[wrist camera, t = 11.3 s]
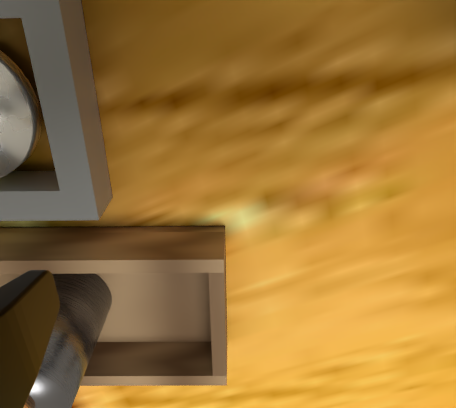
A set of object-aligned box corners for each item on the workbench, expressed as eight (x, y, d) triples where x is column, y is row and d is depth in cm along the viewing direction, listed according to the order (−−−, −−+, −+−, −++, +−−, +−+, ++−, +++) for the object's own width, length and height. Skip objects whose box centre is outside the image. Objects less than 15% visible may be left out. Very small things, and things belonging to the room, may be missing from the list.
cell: (116, 325, 24) (71, 451, 17) (43, 325, 24) (-31, 451, 17) (105, 263, 22) (50, 380, 15) (25, 264, 22) (-66, 380, 15)
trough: (224, 225, 21) (223, 259, 19) (227, 343, 25) (226, 385, 23) (-101, 228, 22) (-149, 261, 19) (-49, 343, 26) (-83, 385, 23)
